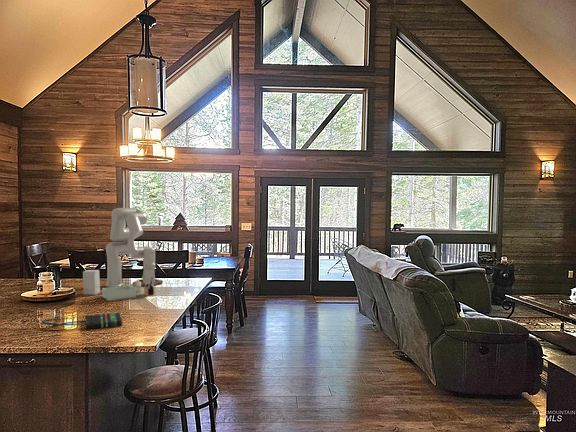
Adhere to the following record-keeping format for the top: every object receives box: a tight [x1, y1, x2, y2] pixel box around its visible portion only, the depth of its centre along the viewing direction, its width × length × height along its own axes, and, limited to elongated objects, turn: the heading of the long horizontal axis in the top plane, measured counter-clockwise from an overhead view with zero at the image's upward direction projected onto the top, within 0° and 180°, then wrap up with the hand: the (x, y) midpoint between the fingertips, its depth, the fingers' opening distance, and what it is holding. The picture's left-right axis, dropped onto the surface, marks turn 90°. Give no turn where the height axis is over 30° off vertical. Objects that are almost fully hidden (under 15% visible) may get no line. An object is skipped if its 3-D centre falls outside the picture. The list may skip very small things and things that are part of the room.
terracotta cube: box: [143, 286, 155, 297], centre depth 270 cm, size 5×5×5 cm
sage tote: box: [101, 285, 137, 302], centre depth 262 cm, size 13×17×6 cm
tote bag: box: [40, 312, 123, 332], centre depth 201 cm, size 21×5×35 cm
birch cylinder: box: [132, 280, 142, 294], centre depth 277 cm, size 5×5×7 cm
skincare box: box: [82, 269, 101, 296], centre depth 270 cm, size 8×7×16 cm
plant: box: [131, 272, 164, 288], centre depth 304 cm, size 20×20×11 cm
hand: (149, 293), depth 270 cm, fingers closed on terracotta cube, 5 cm apart
